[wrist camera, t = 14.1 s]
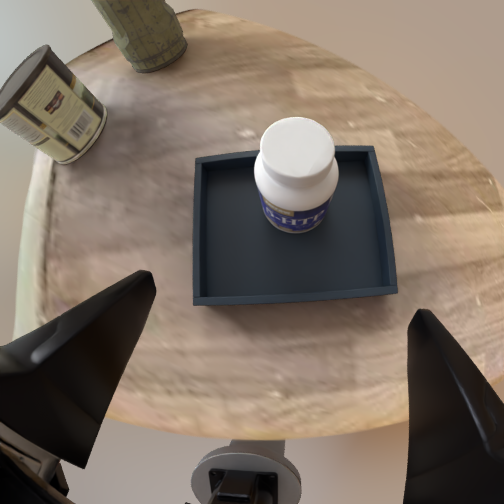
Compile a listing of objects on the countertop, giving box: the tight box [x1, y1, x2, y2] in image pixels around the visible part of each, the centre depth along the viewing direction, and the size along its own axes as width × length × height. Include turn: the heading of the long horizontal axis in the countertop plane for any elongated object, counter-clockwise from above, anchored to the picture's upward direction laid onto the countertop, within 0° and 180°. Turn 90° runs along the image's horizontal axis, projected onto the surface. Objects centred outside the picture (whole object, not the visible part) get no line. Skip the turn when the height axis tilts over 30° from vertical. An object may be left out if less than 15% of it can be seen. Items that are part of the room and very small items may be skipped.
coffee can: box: [0, 45, 107, 164], centre depth 22 cm, size 10×10×14 cm
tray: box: [193, 146, 398, 306], centre depth 21 cm, size 12×15×3 cm
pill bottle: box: [254, 117, 339, 233], centre depth 18 cm, size 5×5×9 cm
